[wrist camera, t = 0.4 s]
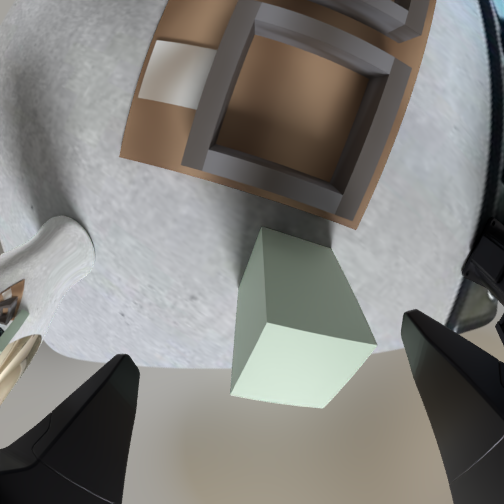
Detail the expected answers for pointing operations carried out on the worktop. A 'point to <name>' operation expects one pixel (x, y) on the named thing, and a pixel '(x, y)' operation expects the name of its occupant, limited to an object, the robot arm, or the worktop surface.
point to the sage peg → (296, 324)
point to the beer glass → (37, 290)
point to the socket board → (280, 96)
